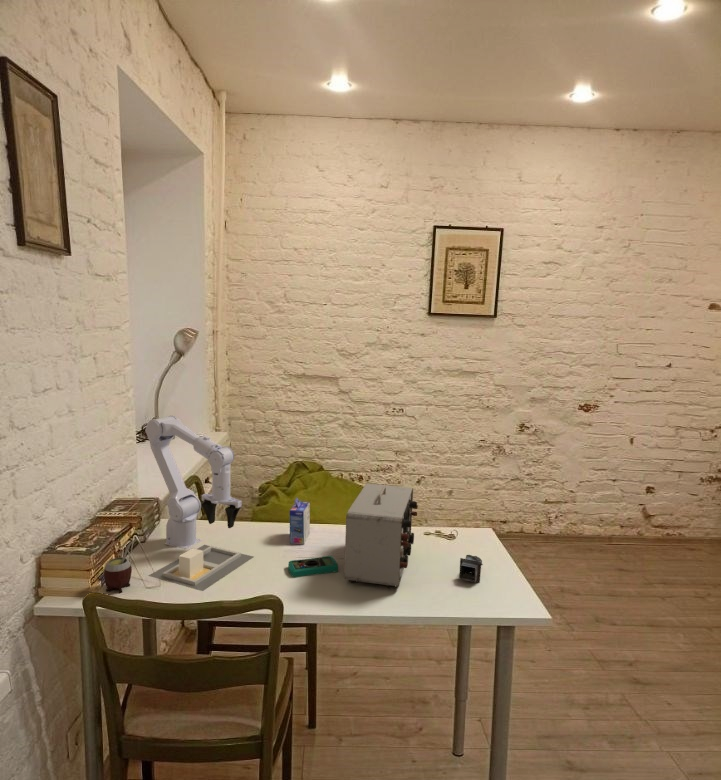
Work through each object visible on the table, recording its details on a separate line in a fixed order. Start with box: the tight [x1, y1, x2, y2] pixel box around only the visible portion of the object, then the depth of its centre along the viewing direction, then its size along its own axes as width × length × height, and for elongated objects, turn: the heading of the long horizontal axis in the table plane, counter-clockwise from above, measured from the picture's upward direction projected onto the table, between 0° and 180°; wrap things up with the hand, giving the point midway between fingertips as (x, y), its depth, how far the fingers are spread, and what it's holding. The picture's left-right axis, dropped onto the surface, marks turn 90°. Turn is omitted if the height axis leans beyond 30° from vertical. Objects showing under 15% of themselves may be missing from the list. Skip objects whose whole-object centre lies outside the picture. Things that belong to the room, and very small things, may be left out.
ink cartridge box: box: [289, 497, 311, 545], centre depth 188 cm, size 10×6×14 cm, turn 174°
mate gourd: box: [103, 538, 138, 594], centre depth 149 cm, size 8×8×15 cm
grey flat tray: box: [148, 544, 254, 592], centre depth 164 cm, size 20×25×2 cm
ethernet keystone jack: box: [458, 554, 484, 583], centre depth 166 cm, size 6×13×6 cm, turn 158°
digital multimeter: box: [288, 555, 339, 578], centre depth 166 cm, size 7×15×3 cm, turn 110°
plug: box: [178, 548, 203, 578], centre depth 159 cm, size 4×7×6 cm, turn 157°
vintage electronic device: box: [343, 483, 418, 589], centre depth 169 cm, size 32×18×25 cm, turn 168°
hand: (221, 525), depth 174 cm, fingers open, 7 cm apart
